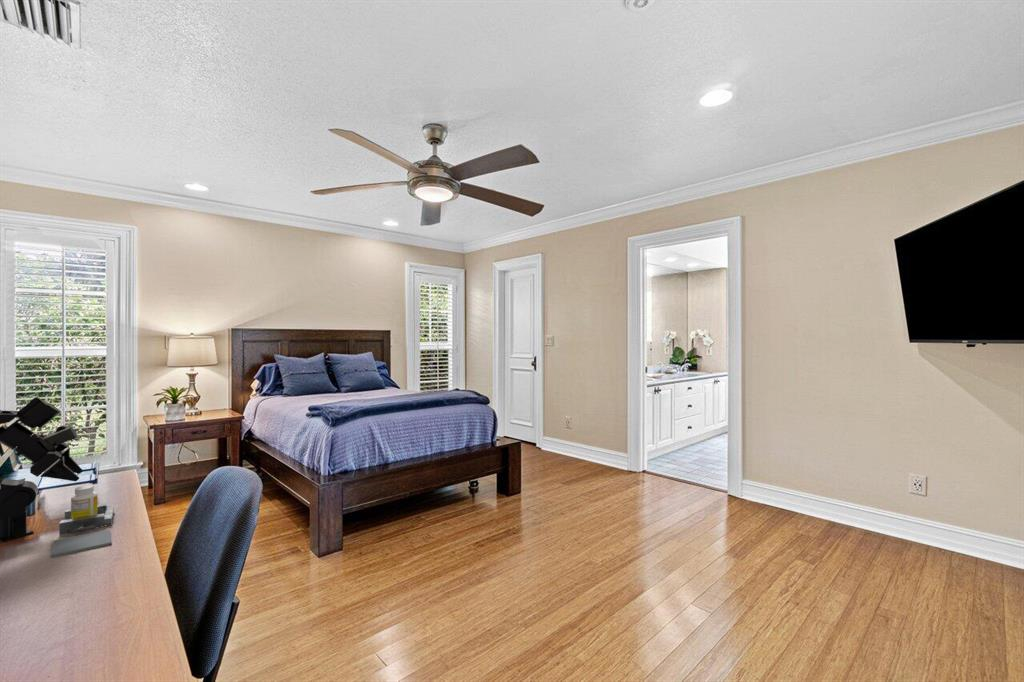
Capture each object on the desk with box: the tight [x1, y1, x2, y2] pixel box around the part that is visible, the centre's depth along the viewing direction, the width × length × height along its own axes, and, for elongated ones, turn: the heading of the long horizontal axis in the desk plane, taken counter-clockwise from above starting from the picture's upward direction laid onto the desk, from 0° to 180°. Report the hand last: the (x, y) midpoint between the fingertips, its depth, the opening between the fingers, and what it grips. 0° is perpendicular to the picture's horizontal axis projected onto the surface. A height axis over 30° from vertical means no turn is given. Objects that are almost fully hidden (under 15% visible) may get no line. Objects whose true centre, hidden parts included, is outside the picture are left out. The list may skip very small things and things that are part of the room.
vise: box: [58, 502, 115, 535], centre depth 134 cm, size 17×11×3 cm, turn 37°
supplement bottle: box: [70, 484, 98, 519], centre depth 135 cm, size 6×6×10 cm
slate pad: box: [50, 529, 112, 558], centre depth 122 cm, size 11×11×1 cm
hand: (79, 475), depth 134 cm, fingers open, 9 cm apart
